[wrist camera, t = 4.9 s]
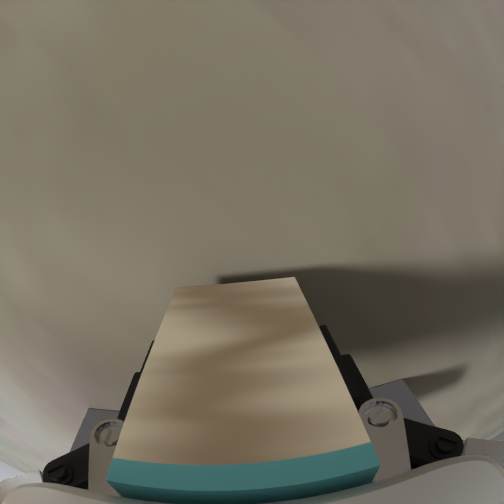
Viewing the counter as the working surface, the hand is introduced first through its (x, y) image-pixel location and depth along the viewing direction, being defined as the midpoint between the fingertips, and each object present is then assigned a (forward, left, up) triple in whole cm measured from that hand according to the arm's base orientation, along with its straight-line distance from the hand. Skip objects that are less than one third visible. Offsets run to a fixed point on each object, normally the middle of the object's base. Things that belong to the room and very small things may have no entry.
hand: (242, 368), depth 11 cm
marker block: (0, 0, -3) cm, 3 cm away
